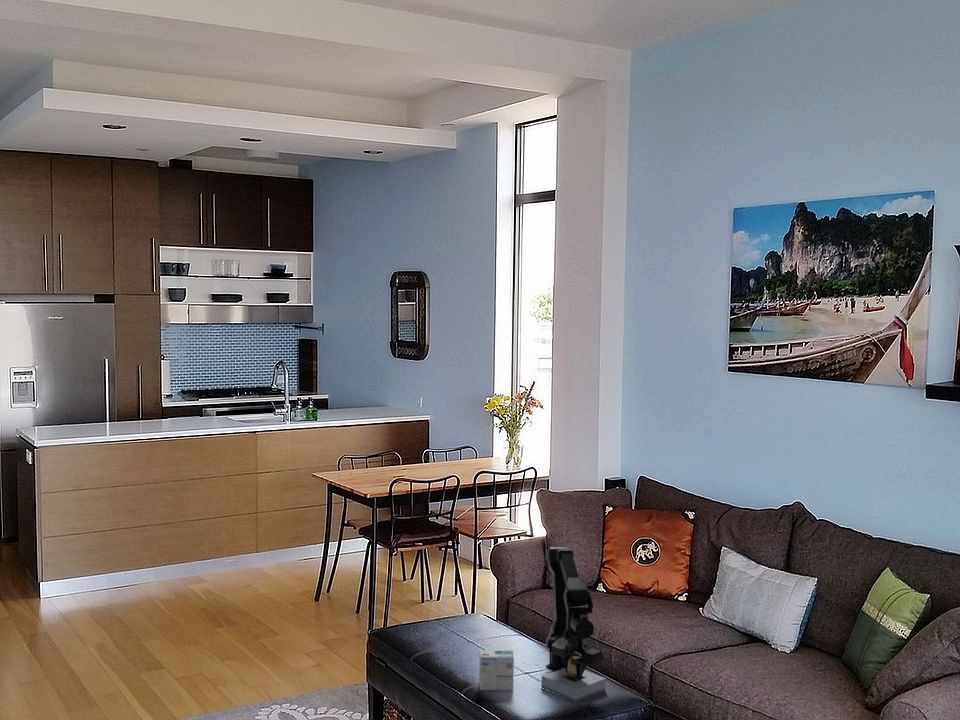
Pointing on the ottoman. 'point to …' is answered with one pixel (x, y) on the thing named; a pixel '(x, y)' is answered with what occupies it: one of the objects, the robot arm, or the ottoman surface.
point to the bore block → (573, 685)
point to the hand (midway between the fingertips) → (573, 676)
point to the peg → (572, 669)
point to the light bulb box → (496, 670)
